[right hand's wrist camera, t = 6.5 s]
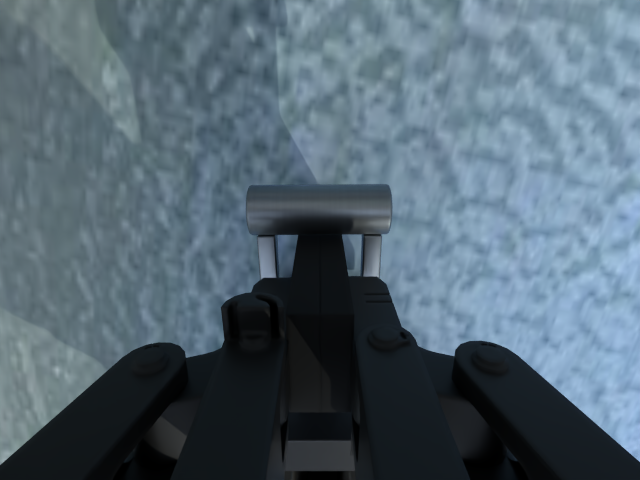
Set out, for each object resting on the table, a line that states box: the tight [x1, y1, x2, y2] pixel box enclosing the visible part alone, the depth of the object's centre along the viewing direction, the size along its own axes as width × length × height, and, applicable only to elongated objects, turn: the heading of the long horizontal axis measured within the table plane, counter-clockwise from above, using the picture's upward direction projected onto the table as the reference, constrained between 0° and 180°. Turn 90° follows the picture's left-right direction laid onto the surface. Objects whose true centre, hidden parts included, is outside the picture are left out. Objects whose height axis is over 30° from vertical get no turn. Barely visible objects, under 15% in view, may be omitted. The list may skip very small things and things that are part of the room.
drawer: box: [246, 184, 392, 480], centre depth 16 cm, size 21×5×10 cm, turn 0°
